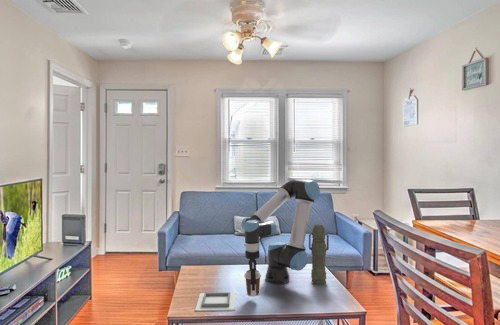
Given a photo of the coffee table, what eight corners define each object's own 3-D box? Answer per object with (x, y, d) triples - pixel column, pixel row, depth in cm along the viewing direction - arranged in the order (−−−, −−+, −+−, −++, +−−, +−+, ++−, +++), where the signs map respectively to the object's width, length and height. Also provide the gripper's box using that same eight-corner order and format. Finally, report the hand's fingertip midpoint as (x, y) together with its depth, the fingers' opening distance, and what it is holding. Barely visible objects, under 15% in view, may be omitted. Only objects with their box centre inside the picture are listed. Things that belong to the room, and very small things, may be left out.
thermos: (330, 284, 190) (330, 226, 190) (310, 285, 190) (310, 227, 190) (326, 279, 199) (326, 223, 199) (307, 279, 199) (307, 224, 199)
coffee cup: (242, 296, 166) (241, 273, 166) (248, 289, 175) (247, 267, 174) (258, 298, 163) (258, 275, 163) (263, 291, 171) (263, 269, 171)
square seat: (235, 293, 178) (235, 290, 178) (235, 310, 158) (235, 306, 158) (200, 294, 178) (200, 290, 178) (195, 311, 158) (195, 307, 158)
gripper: (244, 244, 179) (245, 283, 180) (245, 256, 157) (246, 301, 158) (258, 244, 179) (258, 283, 180) (260, 256, 157) (261, 301, 158)
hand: (253, 291), depth 169 cm, fingers closed on coffee cup, 9 cm apart
